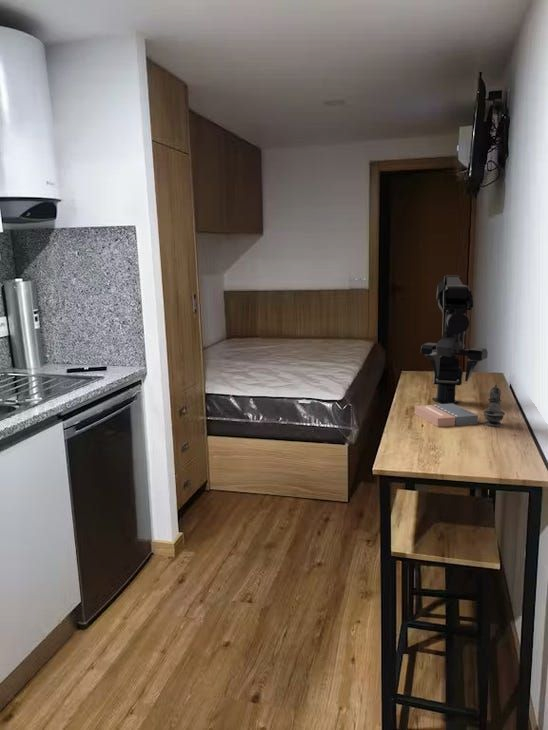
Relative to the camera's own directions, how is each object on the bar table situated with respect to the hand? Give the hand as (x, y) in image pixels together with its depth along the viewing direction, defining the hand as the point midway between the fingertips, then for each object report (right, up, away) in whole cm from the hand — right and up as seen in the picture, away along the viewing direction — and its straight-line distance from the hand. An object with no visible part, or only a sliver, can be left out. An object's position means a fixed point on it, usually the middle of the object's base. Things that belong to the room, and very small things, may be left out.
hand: (451, 379), depth 170 cm
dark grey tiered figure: (+10, -13, -6) cm, 18 cm away
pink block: (-6, -12, -1) cm, 13 cm away
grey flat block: (+1, -12, 0) cm, 12 cm away
